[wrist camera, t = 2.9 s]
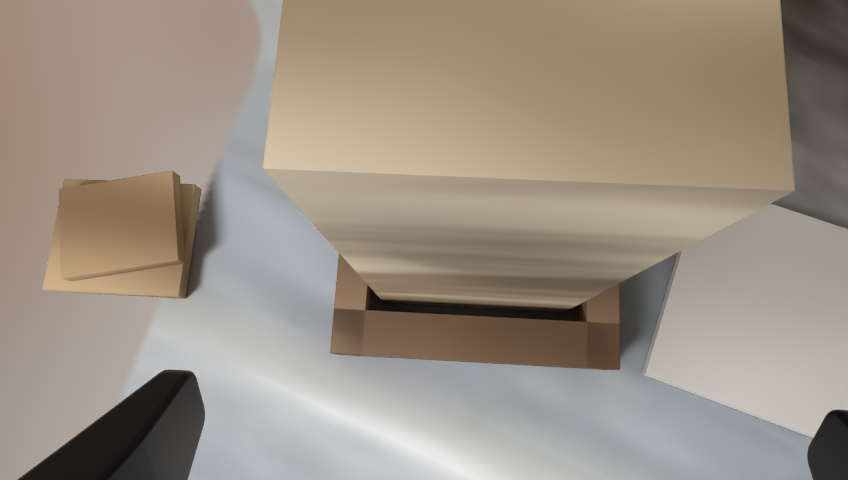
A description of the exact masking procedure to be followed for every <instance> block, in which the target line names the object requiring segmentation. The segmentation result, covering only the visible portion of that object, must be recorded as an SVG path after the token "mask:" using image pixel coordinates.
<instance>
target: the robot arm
mask: <svg viewBox="0 0 848 480" xmlns="http://www.w3.org/2000/svg"><path fill="white" fill-rule="evenodd" d="M204 420H205V409H204V404H203V401H202V397H201V393H200V390H199V386H198V382H197V379H196V376H195V375H194V373H193V372H191V371H185V370H164V371H162V372H160V373H159V374H158V375H156V376H155V377H154V378H152V379H151V380H150V381H148V382H147V383H146V384H144V385H143V386H142V387H140V388H139V389H138V390H136V391H135V392H134V393H132V394H131V395H130V396H128V397H127V398H126V399H124V400H123V401H122V402H120V403H119V404H118V405H116V406H115V407H114V408H112V409H111V410H110V411H108V412H107V413H106V414H104V415H103V416H102V417H100V418H99V419H98V420H96V421H95V422H94V423H92V424H91V425H90V426H88V427H87V428H86V429H85V430H83V431H82V432H81V433H79V434H78V435H77V436H75V437H74V438H72V439H71V440H70V441H69V442H67V443H66V444H65V445H63V446H62V447H61V448H59V449H58V450H57V451H55V452H54V453H53V454H51V455H50V456H49V457H47V458H46V459H45V460H43V461H42V462H41V463H39V464H38V465H37V466H35V467H34V468H33V469H31V470H30V471H29V472H27V473H26V474H25V475H23V476H22V477H21V478H19V479H18V480H188V477H189V473H190V470H191V466H192V463H193V460H194V456H195V453H196V449H197V446H198V443H199V439H200V436H201V432H202V429H203V425H204ZM808 464H809V468H810V471H811V474H812V478H813V480H848V410H837V409H836V410H832V411H830V412H829V413H827V415H826V416H825V418H824V420H823V421H822V423H821V425H820V427H819V429H818V430H817V432H816V434H815V436H814V438H813V440H812V441H811V443H810V445H809V448H808Z"/></svg>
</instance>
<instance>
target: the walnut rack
mask: <svg viewBox="0 0 848 480" xmlns="http://www.w3.org/2000/svg"><path fill="white" fill-rule="evenodd" d="M372 301H373V290H372V289H371V288H370V287H369V286H368V284H367V283H366V282H365V281H364V280H363V279H362V278H361V277H360V276H359V274H358V273H357V272H356V271H355V270H354V269H353V268H352V267H351V266H350V264H349V263H348V262H347V261H346V260H345V259H344V258H343V257H342V256H341V255H340V253H339V259H338V270H337V282H336V293H335V304H334V315H333V327H332V338H331V349H330V353H333V354H339V355H355V356H373V357H390V358H408V359H425V360H443V361H461V362H478V363H496V364H513V365H531V366H548V367H566V368H583V369H601V370H619V369H620V318H619V284H617V285H615V286H613V287H611V288H609V289H608V290H606V291H604V292H602V293H600V294H598V295H596V296H594V297H592V298H590V299H589V300H587V301H585V302H583V303H581V304H579V305H577V321H560V320H541V319H522V318H503V317H485V316H466V315H447V314H428V313H409V312H390V311H372Z"/></svg>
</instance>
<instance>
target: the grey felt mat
mask: <svg viewBox="0 0 848 480" xmlns="http://www.w3.org/2000/svg"><path fill="white" fill-rule="evenodd" d="M642 375H645V376H648V377H650V378H653V379H656V380H658V381H661V382H664V383H667V384H669V385H672V386H675V387H677V388H680V389H683V390H685V391H688V392H691V393H693V394H696V395H699V396H701V397H704V398H707V399H710V400H712V401H715V402H718V403H720V404H723V405H726V406H728V407H731V408H734V409H736V410H739V411H742V412H744V413H747V414H750V415H752V416H755V417H758V418H761V419H763V420H766V421H769V422H771V423H774V424H777V425H779V426H782V427H785V428H787V429H790V430H793V431H795V432H798V433H801V434H804V435H806V436H809V437H812V438H814V436H815V434H816V432H817V430H818V429H819V427H820V425H821V423H822V421H823V420H824V418H825V416H826V415H827V413H829V412H830V411H832V410H836V409H837V410H848V229H846V228H843V227H840V226H837V225H834V224H831V223H828V222H825V221H822V220H819V219H816V218H813V217H810V216H806V215H803V214H800V213H797V212H794V211H791V210H788V209H785V208H782V207H779V206H776V205H773V204H769V205H767V206H765V207H763V208H761V209H759V210H757V211H756V212H754V213H752V214H750V215H748V216H746V217H744V218H742V219H740V220H739V221H737V222H735V223H733V224H731V225H729V226H727V227H725V228H723V229H721V230H720V231H718V232H716V233H714V234H712V235H710V236H708V237H706V238H704V239H702V240H701V241H699V242H697V243H695V244H693V245H691V246H689V247H687V248H685V249H683V250H682V251H680V252H678V254H677V257H676V260H675V264H674V267H673V270H672V274H671V277H670V281H669V284H668V287H667V291H666V294H665V297H664V301H663V304H662V307H661V311H660V314H659V317H658V321H657V324H656V327H655V331H654V334H653V338H652V341H651V344H650V348H649V351H648V354H647V358H646V361H645V364H644V368H643V371H642Z"/></svg>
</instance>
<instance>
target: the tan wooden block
mask: <svg viewBox="0 0 848 480" xmlns="http://www.w3.org/2000/svg"><path fill="white" fill-rule="evenodd" d="M263 169H264V170H265V171H266V173H267V174H268V175H269V176H270V177H271V178H272V179H273V180H274V181H275V183H276V184H277V185H278V186H279V187H280V188H281V189H282V190H283V191H284V192H285V194H286V195H287V196H288V197H289V198H290V199H291V200H292V201H293V202H294V204H295V205H296V206H297V207H298V208H299V209H300V210H301V211H302V212H303V214H304V215H305V216H306V217H307V218H308V219H309V220H310V221H311V222H312V223H313V225H314V226H315V227H316V228H317V229H318V230H319V231H320V232H321V233H322V235H323V236H324V237H325V238H326V239H327V240H328V241H329V242H330V243H331V245H332V246H333V247H334V248H335V249H336V250H337V251H338V252H339V253H340V255H341V256H342V257H343V258H344V259H345V260H346V261H347V262H348V263H349V264H350V266H351V267H352V268H353V269H354V270H355V271H356V272H357V273H358V274H359V276H360V277H361V278H362V279H363V280H364V281H365V282H366V283H367V284H368V286H369V287H370V288H371V289H372V290H373V291H374V292H375V293H376V294H377V295H378V297H379V298H380V299H381V300H382V301H383V302H384V303H400V304H419V305H438V306H457V307H477V308H496V309H515V310H534V311H553V312H566V311H568V310H570V309H571V308H573V307H575V306H577V305H579V304H581V303H583V302H585V301H587V300H589V299H590V298H592V297H594V296H596V295H598V294H600V293H602V292H604V291H606V290H608V289H609V288H611V287H613V286H615V285H617V284H619V283H621V282H623V281H625V280H626V279H628V278H630V277H632V276H634V275H636V274H638V273H640V272H642V271H644V270H645V269H647V268H649V267H651V266H653V265H655V264H657V263H659V262H661V261H663V260H664V259H666V258H668V257H670V256H672V255H674V254H676V253H678V252H680V251H682V250H683V249H685V248H687V247H689V246H691V245H693V244H695V243H697V242H699V241H701V240H702V239H704V238H706V237H708V236H710V235H712V234H714V233H716V232H718V231H720V230H721V229H723V228H725V227H727V226H729V225H731V224H733V223H735V222H737V221H739V220H740V219H742V218H744V217H746V216H748V215H750V214H752V213H754V212H756V211H757V210H759V209H761V208H763V207H765V206H767V205H769V204H771V203H773V202H775V201H776V200H778V199H780V198H782V197H784V196H786V195H788V194H790V193H792V192H794V191H795V184H794V172H793V159H792V146H791V133H790V121H789V108H788V95H787V82H786V69H785V57H784V44H783V31H782V18H781V6H780V0H283V5H282V13H281V22H280V30H279V38H278V47H277V55H276V63H275V72H274V80H273V88H272V97H271V105H270V114H269V122H268V130H267V139H266V147H265V155H264V164H263Z"/></svg>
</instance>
